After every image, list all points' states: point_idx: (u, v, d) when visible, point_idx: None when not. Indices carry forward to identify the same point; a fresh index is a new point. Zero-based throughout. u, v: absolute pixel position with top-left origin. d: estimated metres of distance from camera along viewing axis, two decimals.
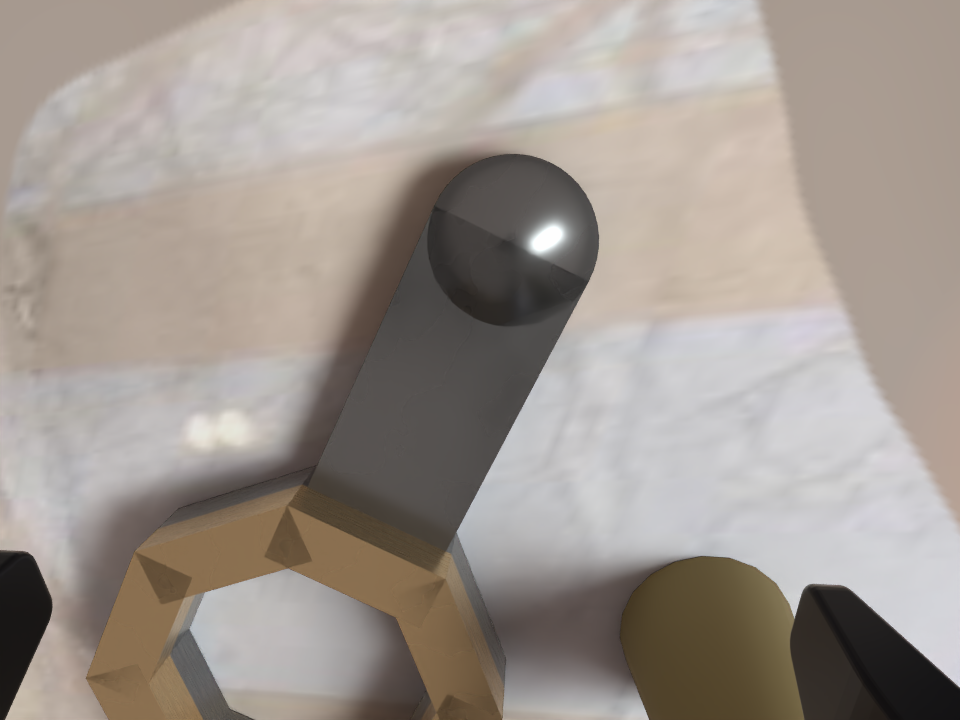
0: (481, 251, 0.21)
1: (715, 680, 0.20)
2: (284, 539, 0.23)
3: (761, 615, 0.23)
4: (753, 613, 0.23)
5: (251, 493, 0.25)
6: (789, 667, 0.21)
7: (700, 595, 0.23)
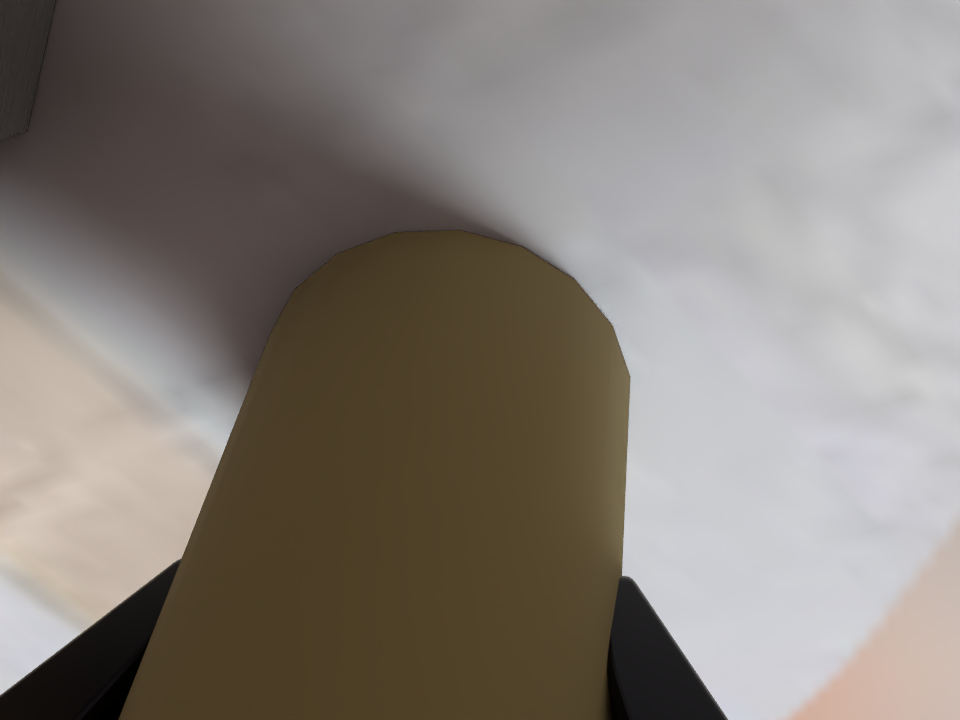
0: None
1: (469, 521, 0.06)
2: None
3: (616, 459, 0.09)
4: (610, 442, 0.09)
5: None
6: None
7: (538, 332, 0.09)
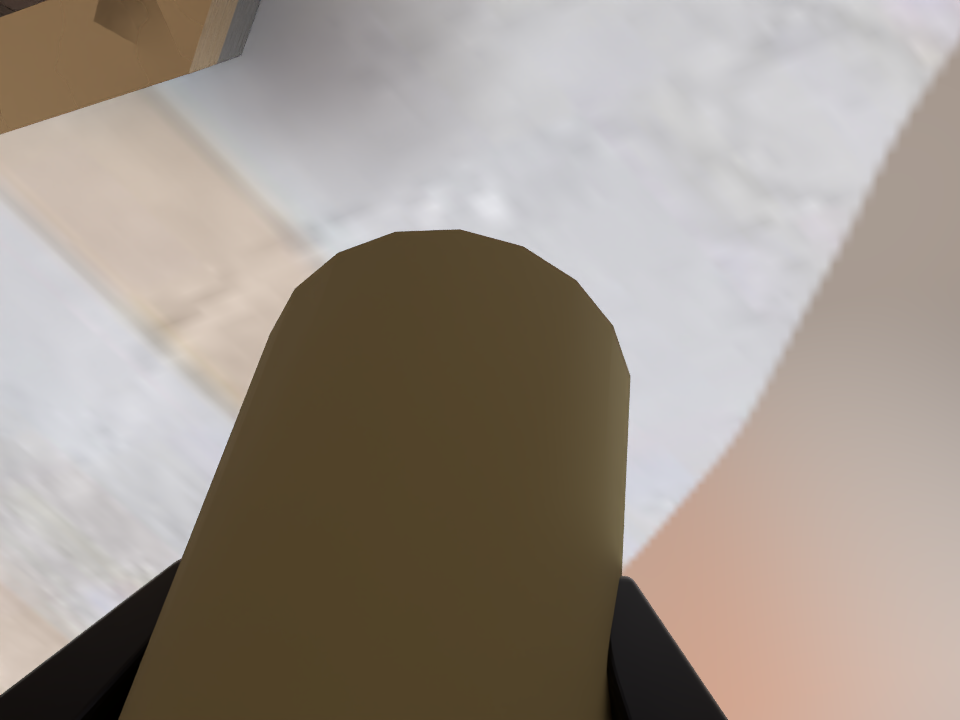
0: None
1: (469, 521, 0.06)
2: None
3: (616, 459, 0.09)
4: (609, 441, 0.09)
5: None
6: None
7: (539, 332, 0.09)
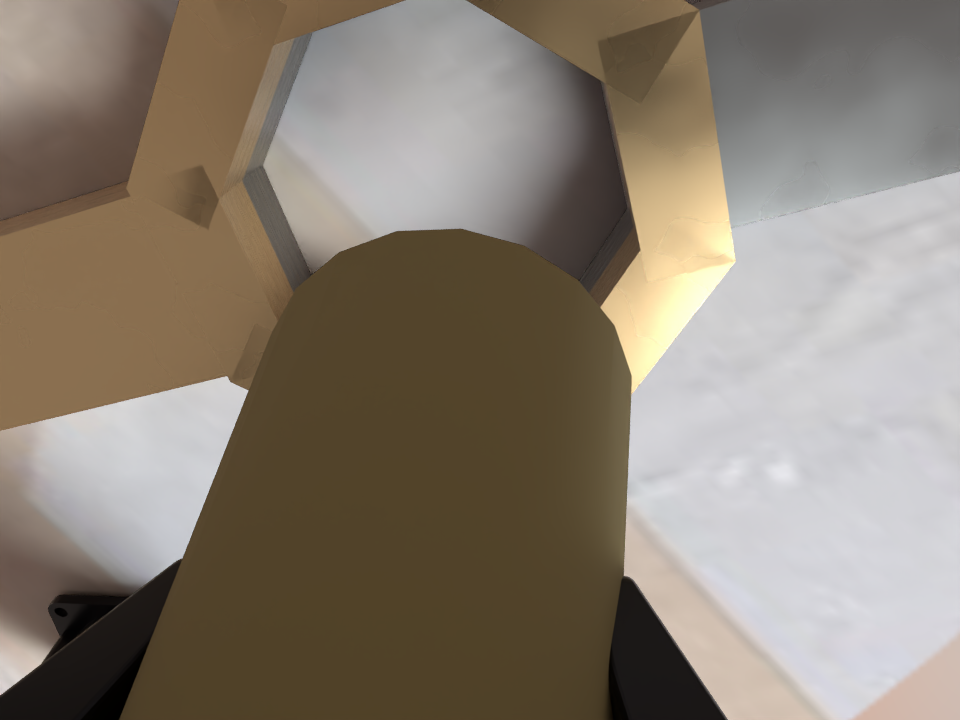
0: None
1: (470, 519, 0.06)
2: (644, 46, 0.14)
3: (618, 458, 0.09)
4: (610, 442, 0.09)
5: None
6: None
7: (541, 331, 0.09)
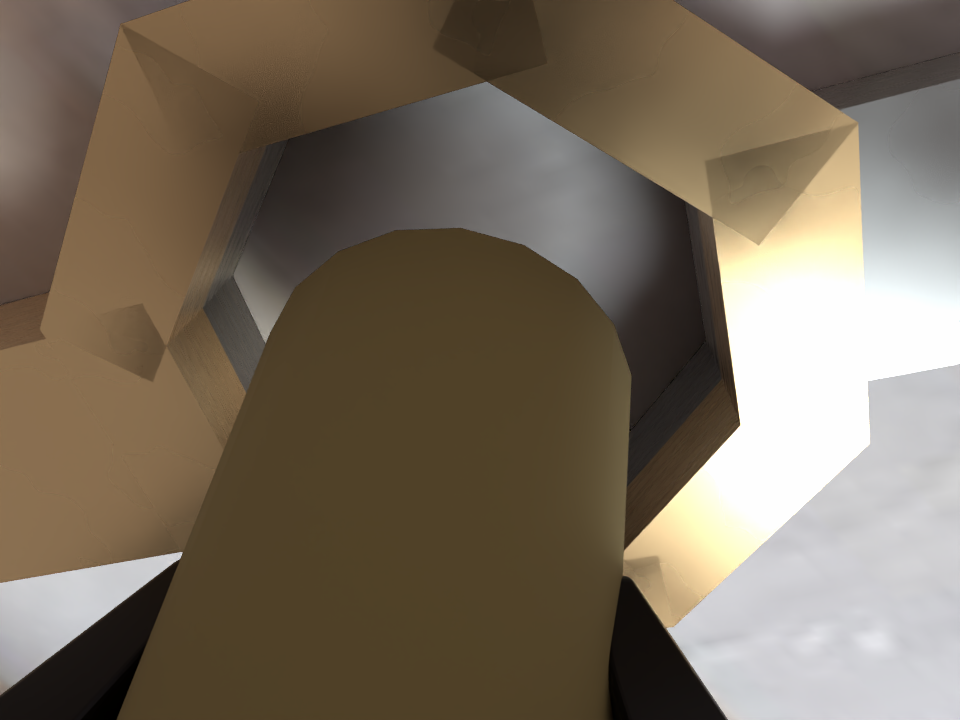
0: None
1: (469, 520, 0.06)
2: (772, 169, 0.10)
3: (617, 458, 0.09)
4: (610, 441, 0.09)
5: None
6: None
7: (539, 331, 0.09)
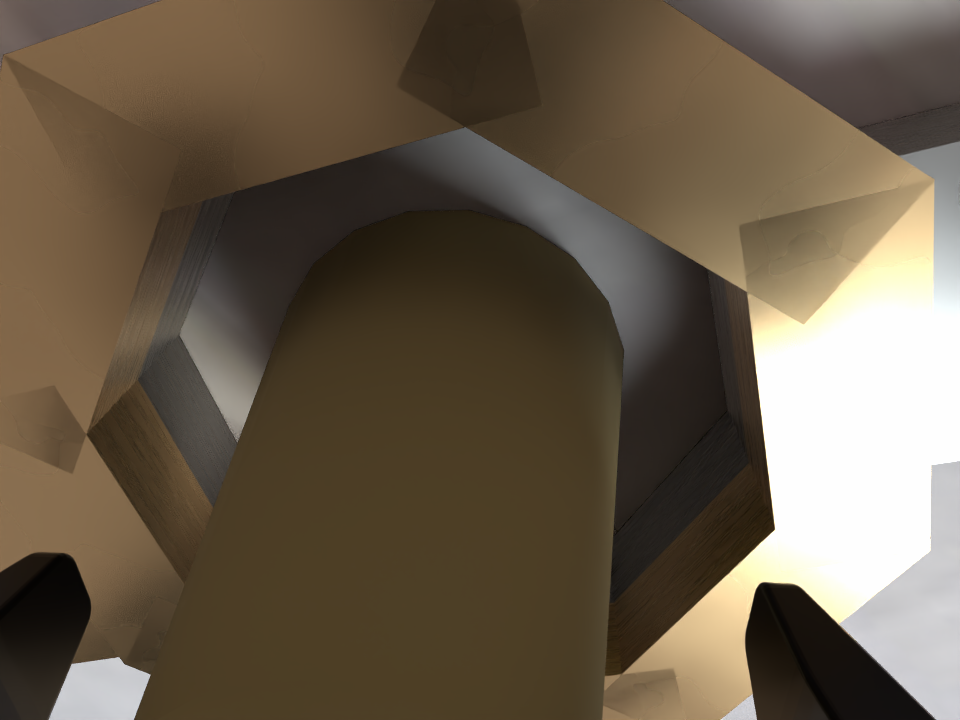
0: None
1: (481, 454, 0.07)
2: (824, 235, 0.08)
3: (610, 418, 0.10)
4: (604, 402, 0.10)
5: None
6: (611, 539, 0.08)
7: (541, 302, 0.10)
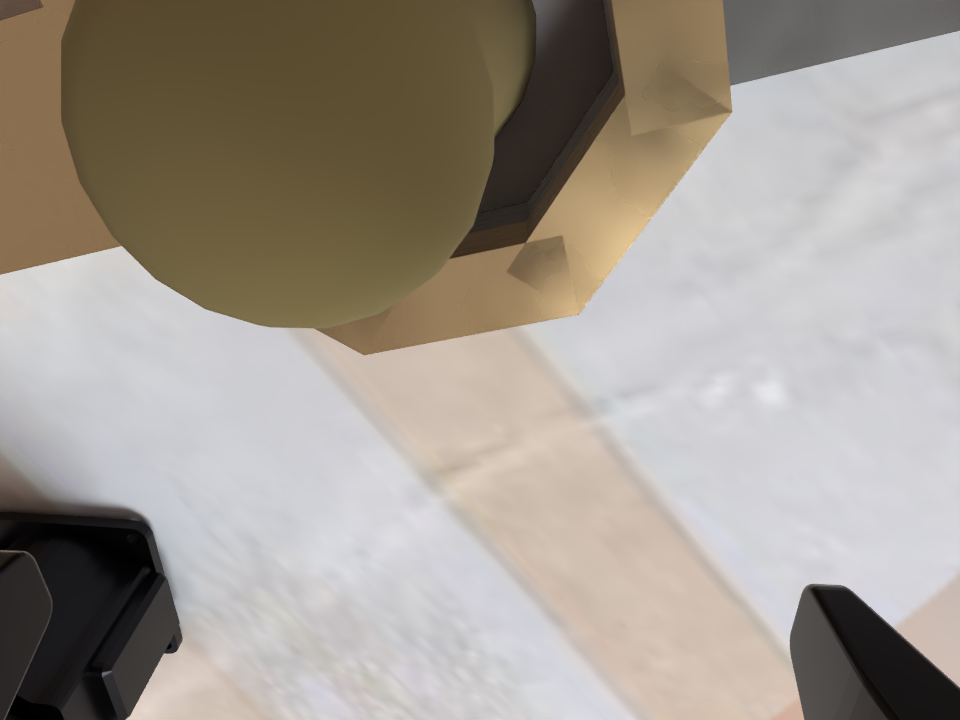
0: None
1: None
2: None
3: (512, 10, 0.14)
4: None
5: None
6: (500, 44, 0.13)
7: None
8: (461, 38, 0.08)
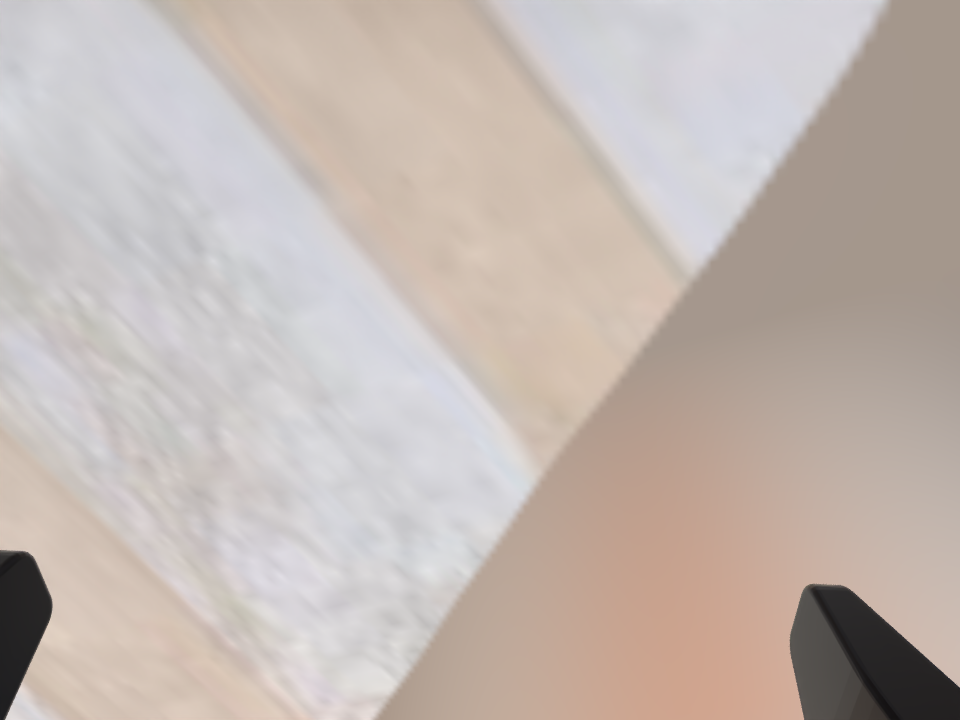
0: None
1: None
2: None
3: None
4: None
5: None
6: None
7: None
8: None
